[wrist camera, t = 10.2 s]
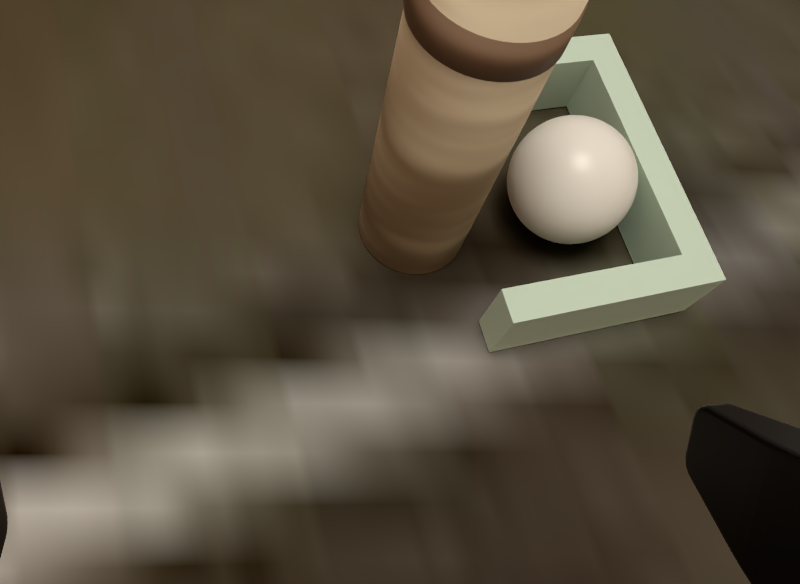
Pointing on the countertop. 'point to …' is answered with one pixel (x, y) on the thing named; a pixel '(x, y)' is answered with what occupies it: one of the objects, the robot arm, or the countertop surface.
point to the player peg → (454, 119)
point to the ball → (572, 179)
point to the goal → (641, 227)
